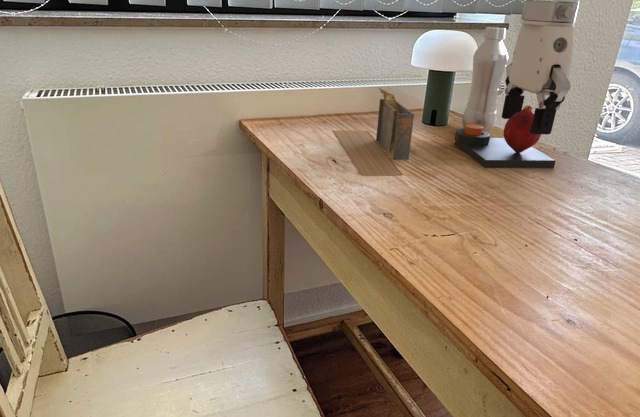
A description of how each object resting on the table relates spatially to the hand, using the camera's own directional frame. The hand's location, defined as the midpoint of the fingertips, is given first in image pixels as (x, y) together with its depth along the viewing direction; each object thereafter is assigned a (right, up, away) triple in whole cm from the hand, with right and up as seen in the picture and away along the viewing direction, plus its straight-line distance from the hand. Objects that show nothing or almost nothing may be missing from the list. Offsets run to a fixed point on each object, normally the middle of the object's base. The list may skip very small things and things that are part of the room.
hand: (524, 125), depth 81 cm
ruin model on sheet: (-21, -4, +5) cm, 22 cm away
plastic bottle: (-2, +2, +18) cm, 19 cm away
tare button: (-7, 0, +7) cm, 9 cm away
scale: (-2, -5, +5) cm, 7 cm away
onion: (0, -4, +2) cm, 5 cm away
